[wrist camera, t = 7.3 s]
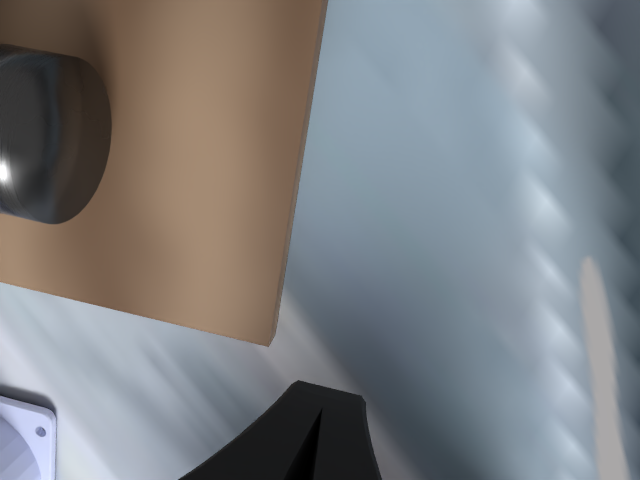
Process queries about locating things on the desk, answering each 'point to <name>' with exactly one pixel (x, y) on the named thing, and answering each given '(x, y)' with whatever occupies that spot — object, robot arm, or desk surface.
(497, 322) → the desk surface
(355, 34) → the desk surface
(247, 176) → the base board
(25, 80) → the shaft
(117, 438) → the desk surface
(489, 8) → the desk surface
